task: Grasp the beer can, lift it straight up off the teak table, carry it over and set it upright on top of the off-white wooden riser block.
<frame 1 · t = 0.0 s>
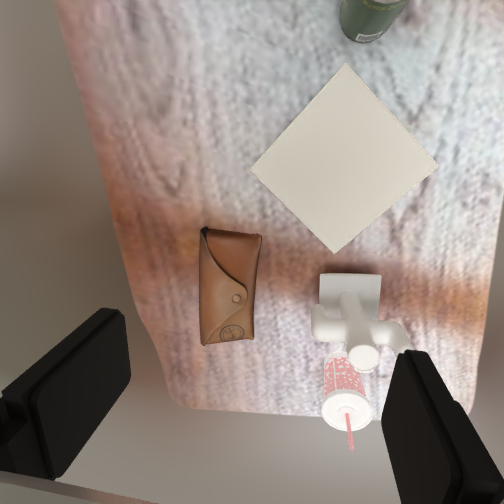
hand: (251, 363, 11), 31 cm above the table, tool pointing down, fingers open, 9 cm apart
figurine: (345, 287, 43), on the table
beverage cup: (339, 362, 47), on the table
riser block: (336, 164, 37), on the table
beer can: (365, 14, 32), on the table
sunglasses case: (231, 285, 46), on the table
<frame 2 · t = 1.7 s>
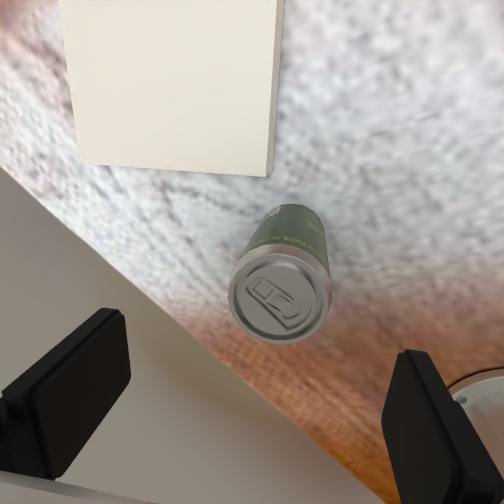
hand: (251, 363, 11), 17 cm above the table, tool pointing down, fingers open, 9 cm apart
riser block: (187, 69, 24), on the table
beer can: (291, 233, 27), on the table
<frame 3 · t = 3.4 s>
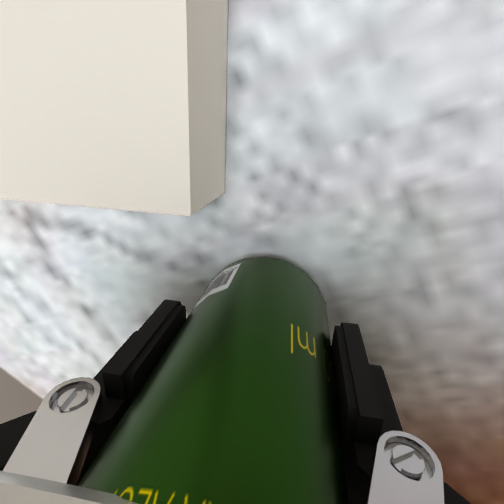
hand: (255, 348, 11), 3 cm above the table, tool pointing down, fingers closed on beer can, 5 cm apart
beer can: (266, 304, 14), on the table, touching gripper
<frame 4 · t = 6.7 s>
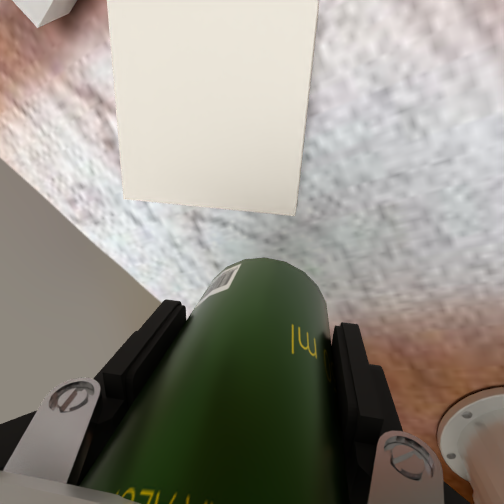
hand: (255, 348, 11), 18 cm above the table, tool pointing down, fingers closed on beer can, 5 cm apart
riser block: (221, 114, 26), on the table
beer can: (266, 304, 14), point 15 cm above the table, touching gripper
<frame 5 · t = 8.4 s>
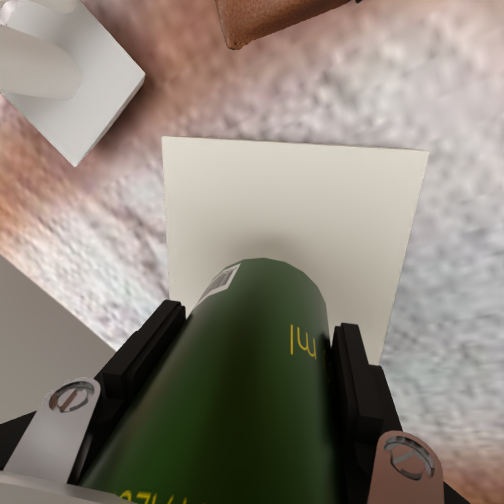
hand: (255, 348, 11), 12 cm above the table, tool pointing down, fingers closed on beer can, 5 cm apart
figurine: (102, 84, 21), on the table
riser block: (282, 244, 23), on the table
beer can: (266, 304, 14), point 9 cm above the table, touching gripper
when the fingers open (8 cm above the table, at t = 9.9 s): beer can drops 1 cm, resting on riser block.
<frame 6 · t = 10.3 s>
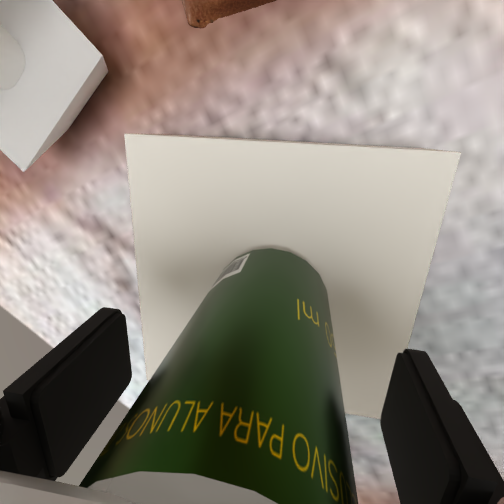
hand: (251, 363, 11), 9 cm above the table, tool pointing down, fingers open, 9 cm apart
figurine: (60, 71, 18), on the table
riser block: (276, 261, 19), on the table
beer can: (272, 293, 16), point 4 cm above the table, touching riser block
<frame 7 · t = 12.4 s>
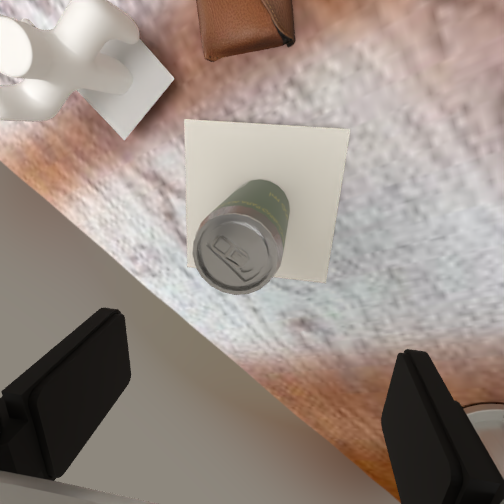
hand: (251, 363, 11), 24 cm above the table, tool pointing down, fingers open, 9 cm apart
figurine: (139, 83, 30), on the table
riser block: (264, 197, 32), on the table
beer can: (261, 207, 29), point 4 cm above the table, touching riser block
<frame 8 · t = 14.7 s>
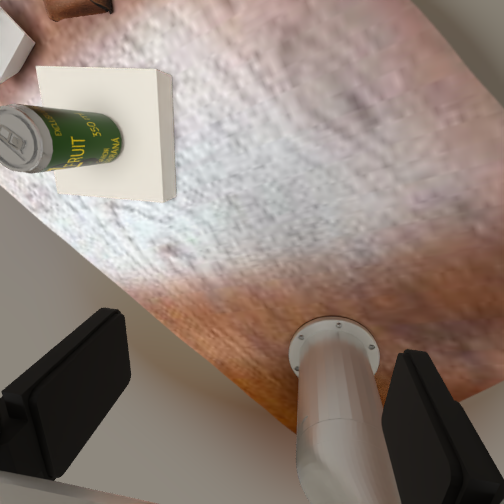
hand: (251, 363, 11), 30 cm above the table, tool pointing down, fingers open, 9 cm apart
figurine: (14, 43, 38), on the table
riser block: (121, 137, 39), on the table
beer can: (104, 138, 36), point 4 cm above the table, touching riser block
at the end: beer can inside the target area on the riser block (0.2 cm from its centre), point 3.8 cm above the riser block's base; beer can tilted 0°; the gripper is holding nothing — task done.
